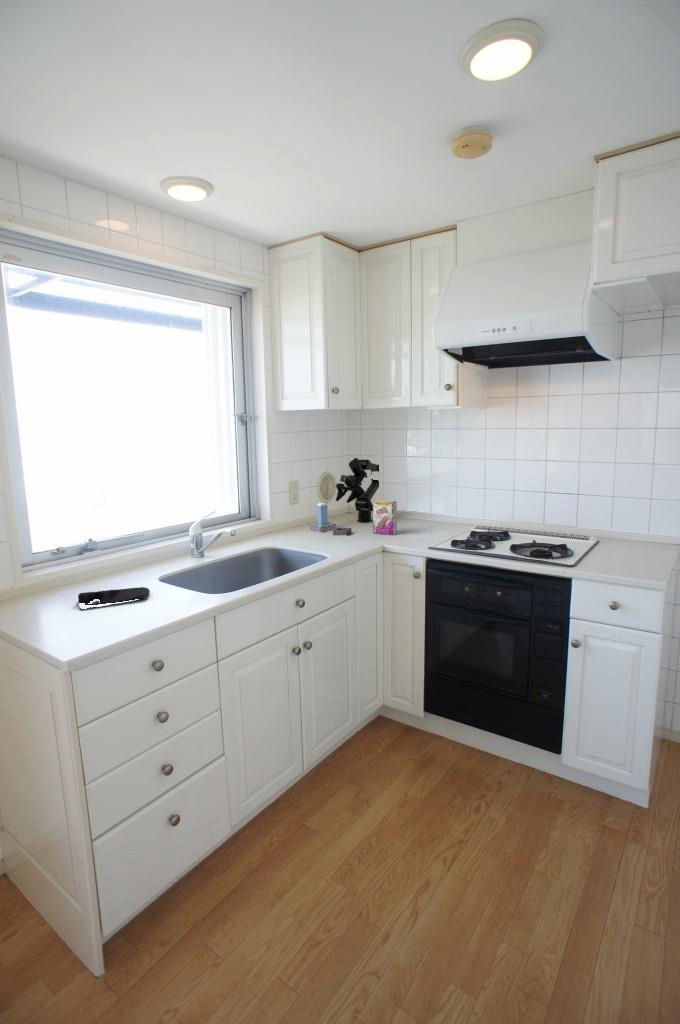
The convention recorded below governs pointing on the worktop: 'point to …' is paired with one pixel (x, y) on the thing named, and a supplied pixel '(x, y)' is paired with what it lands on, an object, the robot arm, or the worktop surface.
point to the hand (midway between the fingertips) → (341, 501)
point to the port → (322, 527)
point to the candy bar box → (385, 517)
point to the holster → (341, 531)
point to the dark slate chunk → (113, 595)
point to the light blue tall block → (322, 514)
